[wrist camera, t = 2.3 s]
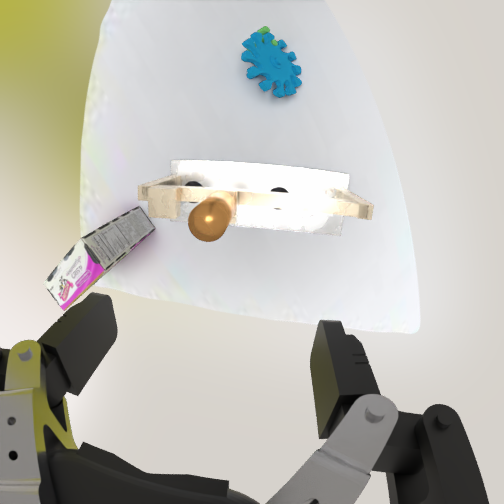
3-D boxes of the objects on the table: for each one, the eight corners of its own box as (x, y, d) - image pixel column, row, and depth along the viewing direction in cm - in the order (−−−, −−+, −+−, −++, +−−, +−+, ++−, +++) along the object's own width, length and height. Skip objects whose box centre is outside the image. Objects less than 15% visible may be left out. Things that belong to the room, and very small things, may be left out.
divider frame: (174, 159, 38) (131, 166, 25) (346, 173, 37) (382, 186, 25) (173, 218, 42) (134, 250, 29) (338, 233, 41) (366, 271, 28)
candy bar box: (116, 264, 45) (63, 313, 30) (99, 242, 44) (41, 283, 29) (158, 229, 42) (105, 272, 27) (139, 204, 41) (78, 236, 26)
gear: (310, 100, 33) (254, 87, 27) (279, 111, 37) (223, 103, 31) (297, 35, 30) (242, 15, 24) (269, 50, 35) (215, 35, 29)
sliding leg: (225, 177, 37) (188, 201, 20) (247, 178, 37) (227, 203, 20) (223, 200, 38) (188, 241, 22) (245, 201, 38) (225, 244, 21)
